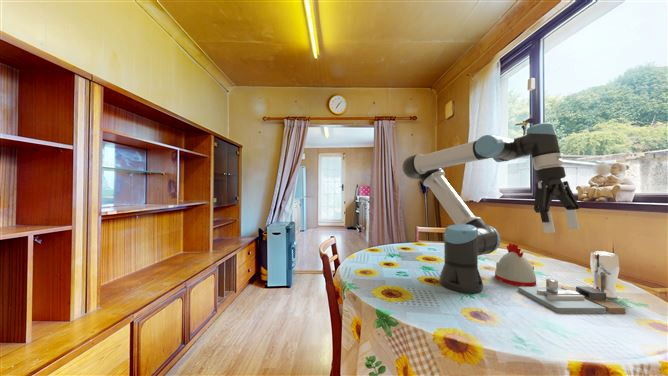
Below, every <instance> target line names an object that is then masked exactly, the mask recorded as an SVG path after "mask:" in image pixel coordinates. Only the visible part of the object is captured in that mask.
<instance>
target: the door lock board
mask: <svg viewBox="0 0 668 376" xmlns="http://www.w3.org/2000/svg"><path fill="white" fill-rule="evenodd" d="M517 291H518V292H520V294H522V295H525V296H526V297H528V298H529V299H532V300H534V301H535V302H537V303H539V304H541V305H543V306H544V307H546V308H549V309H550V310H552V311H553V312H555V313H565V314H566V313H567V314H568V313H571V314H574V313H577V314H578V313H579V314H580V313H581V314H585V313H586V314H606V313H609V314H626V307H624V306H621V305H619V304H616V303H614V302H612V301H609V300H607V298H606V293H605V292H602V291H600V290H597V289H594V288H593V287H592V286H589V285H588V286H587V285H585V286H584V285H583V286H581V285H578V286H577V285H576V286H575V287H574V286H561V287H559V286H558V291H575V292H578V293H580V295H546V294H544V291H546V286H532V287H524V286H517Z"/></svg>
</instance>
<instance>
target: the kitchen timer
mask: <svg viewBox="0 0 668 376" xmlns="http://www.w3.org/2000/svg"><path fill="white" fill-rule="evenodd" d="M506 249H507V253H506V254H504V255H502V257H501V258H500V259H499V261H497V262H496V264H495V265H496V266H495V267H496V268H495V272H494V277H495V279H496V280H497V281H500V282H502V283H505V284H508V285H511V286H517V287H524V286H525V287H529V286H530V287H531V286H532V287H536V285H537V276H536V273H535V266H534V265H532V264H531V262H530V261H529V259H528V258H526V256H524V251H522V250H521V248H519V246H518V244H515V243H508V245H506ZM521 251H522V252H521Z"/></svg>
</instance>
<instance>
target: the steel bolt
mask: <svg viewBox="0 0 668 376" xmlns="http://www.w3.org/2000/svg"><path fill="white" fill-rule="evenodd" d="M545 287H546V291H544V294H546V295H580V293H578V292H575V291H558V287H559V281H558V280H557V279H554V278H546V279H545Z"/></svg>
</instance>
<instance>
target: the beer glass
mask: <svg viewBox="0 0 668 376" xmlns="http://www.w3.org/2000/svg"><path fill="white" fill-rule="evenodd" d="M589 260H590V261H589V263H590V271H591V275H592V278H593V279H592V280H593V287H592V288H594V289H597V290H600V291H602V292H605V293H606V299H617V298H618V294H617V291H616V290H617V289H616V285H617V281H618V277H619V273H620V260H619V255H618V254H617V253H612V252H606V251H599V250H597V251H596V250H594V251H593V250H592V251H591V252H590V259H589Z"/></svg>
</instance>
